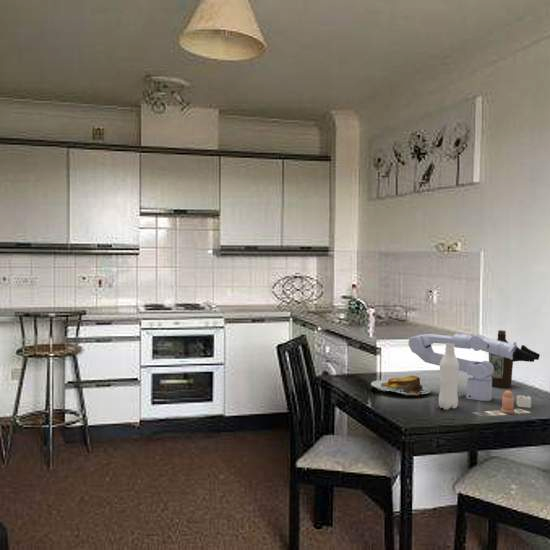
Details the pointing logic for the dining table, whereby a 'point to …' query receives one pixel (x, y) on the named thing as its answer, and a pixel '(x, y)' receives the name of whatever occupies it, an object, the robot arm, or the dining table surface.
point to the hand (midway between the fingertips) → (536, 358)
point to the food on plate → (402, 385)
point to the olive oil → (501, 366)
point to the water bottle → (448, 378)
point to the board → (499, 412)
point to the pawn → (507, 402)
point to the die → (523, 401)
